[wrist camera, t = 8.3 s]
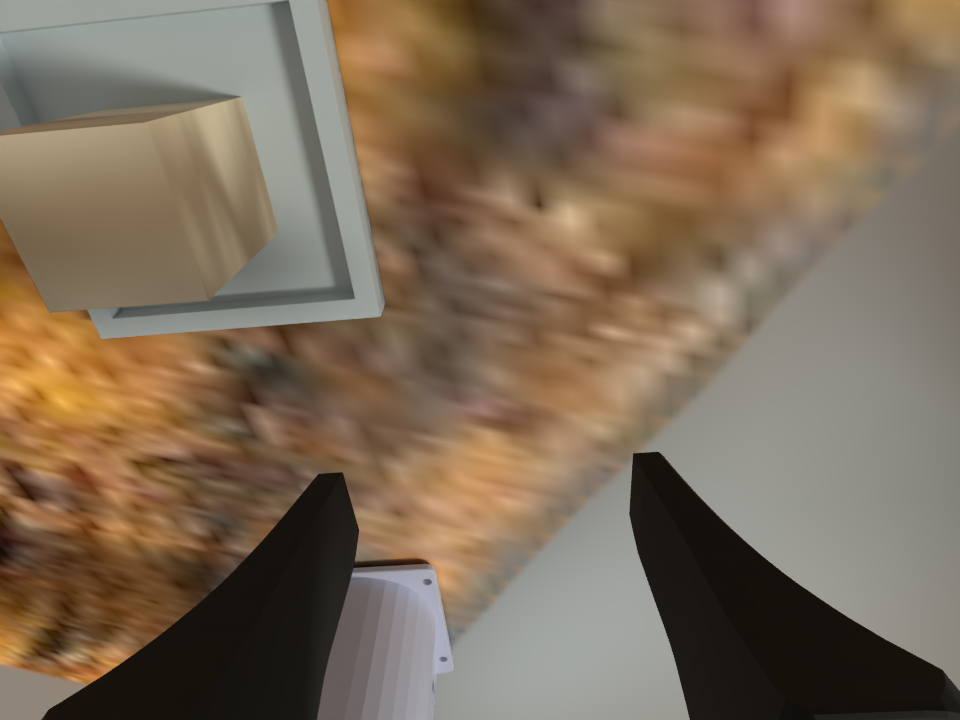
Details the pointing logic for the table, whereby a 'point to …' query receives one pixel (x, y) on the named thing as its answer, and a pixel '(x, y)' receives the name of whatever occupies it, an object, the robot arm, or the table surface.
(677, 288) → the table surface
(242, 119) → the beech block
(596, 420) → the table surface
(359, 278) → the tray
